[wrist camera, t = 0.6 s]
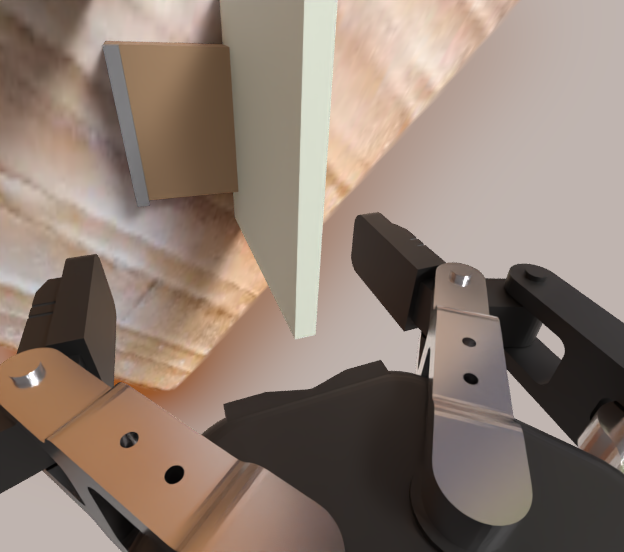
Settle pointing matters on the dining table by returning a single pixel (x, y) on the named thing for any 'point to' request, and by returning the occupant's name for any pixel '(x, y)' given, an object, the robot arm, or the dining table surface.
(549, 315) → the robot arm
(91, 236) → the dining table surface
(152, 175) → the cleat board
